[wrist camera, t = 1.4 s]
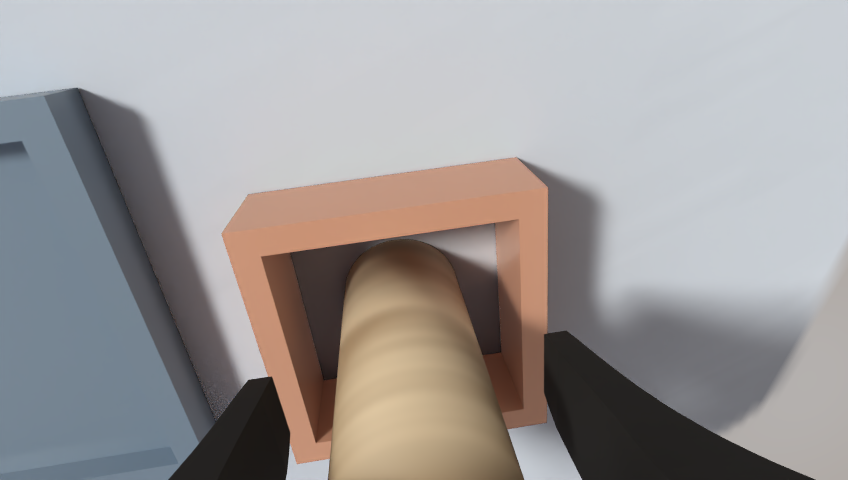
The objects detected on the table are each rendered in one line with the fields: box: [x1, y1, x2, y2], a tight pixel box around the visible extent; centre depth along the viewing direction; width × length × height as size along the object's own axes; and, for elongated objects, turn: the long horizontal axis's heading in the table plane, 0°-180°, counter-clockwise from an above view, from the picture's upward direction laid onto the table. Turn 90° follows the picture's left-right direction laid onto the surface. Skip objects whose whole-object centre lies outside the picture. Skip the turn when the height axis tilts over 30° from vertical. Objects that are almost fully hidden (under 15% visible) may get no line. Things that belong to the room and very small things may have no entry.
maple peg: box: [328, 239, 524, 480], centre depth 13 cm, size 4×4×8 cm
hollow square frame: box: [222, 157, 548, 464], centre depth 16 cm, size 9×9×3 cm
